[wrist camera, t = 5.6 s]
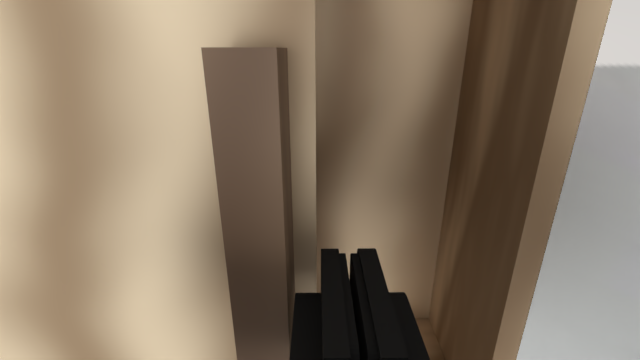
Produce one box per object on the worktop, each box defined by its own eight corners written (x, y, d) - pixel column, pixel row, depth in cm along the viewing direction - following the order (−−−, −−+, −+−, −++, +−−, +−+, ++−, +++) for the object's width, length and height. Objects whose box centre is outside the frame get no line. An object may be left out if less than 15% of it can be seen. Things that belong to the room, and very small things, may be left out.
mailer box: (495, -43, 16) (644, -120, 9) (438, 323, 24) (492, 446, 17) (156, -43, 16) (18, -120, 9) (209, 324, 24) (161, 448, 17)
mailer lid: (314, -126, 9) (313, -225, 5) (317, 454, 16) (317, 548, 13) (-338, -127, 8) (-714, -227, 5) (-22, 456, 16) (-101, 551, 13)
